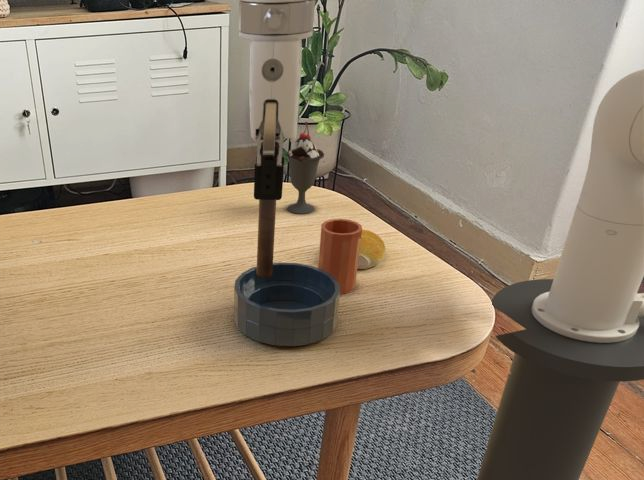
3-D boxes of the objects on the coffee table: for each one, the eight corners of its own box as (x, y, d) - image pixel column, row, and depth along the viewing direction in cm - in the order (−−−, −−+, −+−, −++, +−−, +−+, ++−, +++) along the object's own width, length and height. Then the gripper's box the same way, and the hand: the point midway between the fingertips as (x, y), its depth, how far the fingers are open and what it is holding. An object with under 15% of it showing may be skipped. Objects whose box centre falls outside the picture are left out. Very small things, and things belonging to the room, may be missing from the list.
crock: (353, 276, 95) (360, 219, 90) (356, 294, 90) (363, 235, 85) (316, 275, 96) (320, 218, 91) (316, 293, 91) (321, 234, 86)
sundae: (305, 199, 121) (311, 117, 113) (326, 211, 116) (334, 126, 108) (275, 206, 119) (278, 123, 111) (295, 218, 114) (300, 132, 105)
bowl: (333, 299, 89) (337, 264, 86) (338, 352, 79) (342, 314, 76) (238, 296, 91) (238, 261, 88) (230, 347, 81) (230, 309, 78)
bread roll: (386, 248, 102) (389, 225, 100) (379, 273, 95) (382, 248, 93) (333, 242, 105) (336, 219, 103) (323, 266, 98) (325, 241, 96)
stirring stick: (272, 270, 82) (279, 144, 73) (272, 277, 81) (278, 149, 72) (256, 270, 82) (261, 144, 74) (255, 277, 81) (260, 149, 72)
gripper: (314, 31, 58) (300, 222, 69) (312, 10, 71) (300, 173, 82) (232, 32, 60) (230, 220, 70) (244, 11, 73) (241, 172, 83)
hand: (268, 193), depth 76 cm, fingers closed on stirring stick, 2 cm apart
